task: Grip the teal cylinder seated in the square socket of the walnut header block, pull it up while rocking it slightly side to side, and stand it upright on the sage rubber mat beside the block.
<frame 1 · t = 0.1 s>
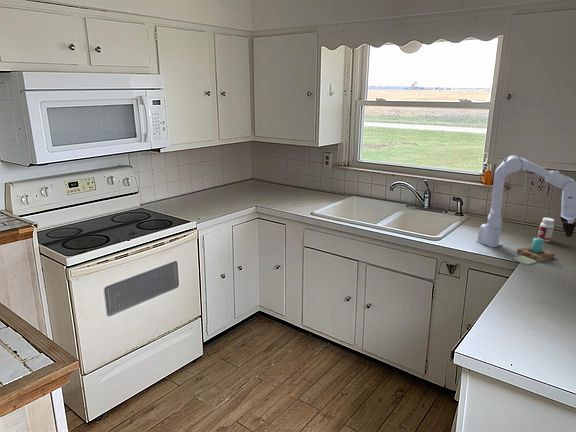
hand: (567, 233, 203), 11 cm above the worktop, tool pointing down, fingers open, 7 cm apart
rubber mat: (524, 260, 198), on the worktop
header block: (535, 255, 205), on the worktop
pill bottle: (543, 240, 224), on the worktop
teal cylinder: (536, 247, 203), in the header block
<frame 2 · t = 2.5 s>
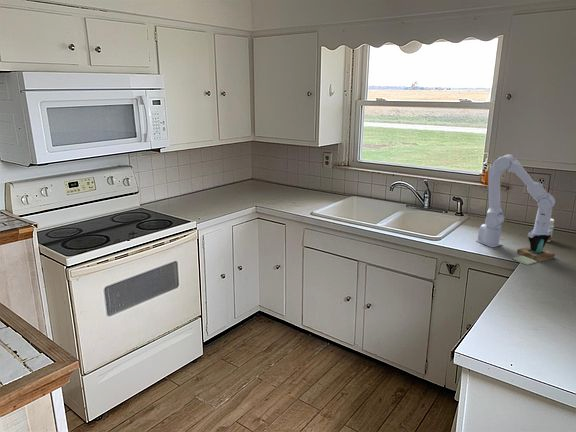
hand: (536, 249, 204), 3 cm above the worktop, tool pointing down, fingers closed on teal cylinder, 4 cm apart
teal cylinder: (536, 247, 203), in the header block, touching gripper
everything else where it was.
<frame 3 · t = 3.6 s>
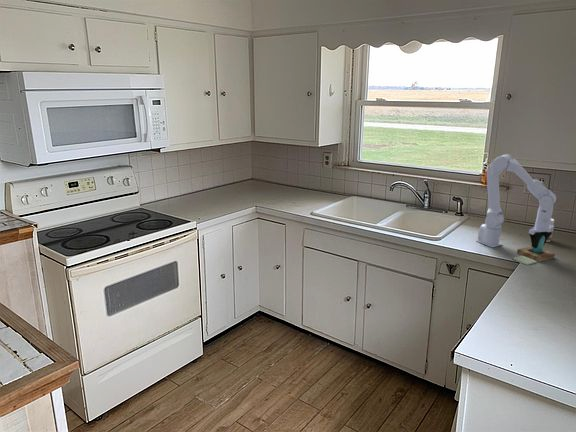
hand: (537, 246, 203), 4 cm above the worktop, tool pointing down, fingers closed on teal cylinder, 4 cm apart
teal cylinder: (538, 244, 203), point 5 cm above the worktop, touching gripper
everything else where it was.
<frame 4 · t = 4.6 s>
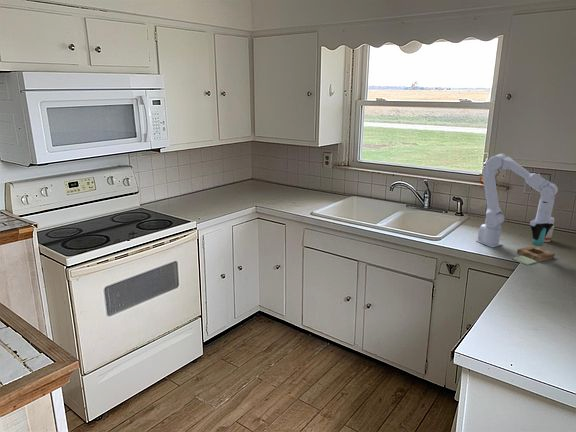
hand: (538, 238, 202), 8 cm above the worktop, tool pointing down, fingers closed on teal cylinder, 4 cm apart
teal cylinder: (539, 236, 202), point 10 cm above the worktop, touching gripper
everything else where it was.
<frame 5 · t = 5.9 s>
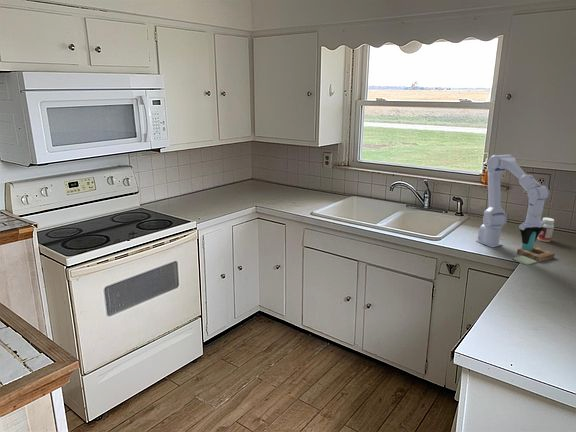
hand: (528, 242, 195), 9 cm above the worktop, tool pointing down, fingers closed on teal cylinder, 4 cm apart
teal cylinder: (528, 240, 195), point 10 cm above the worktop, touching gripper
everything else where it was.
when the fingers open (5 cm above the worktop, at t = 7.0 s): teal cylinder drops 1 cm, resting on rubber mat.
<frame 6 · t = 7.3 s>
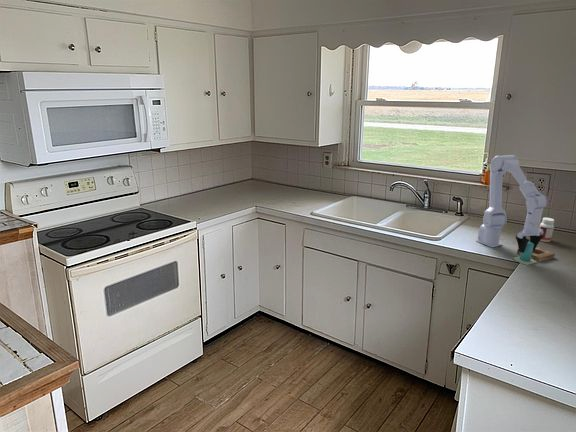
hand: (526, 250, 197), 5 cm above the worktop, tool pointing down, fingers open, 7 cm apart
teal cylinder: (526, 251, 197), on the rubber mat, point 5 cm above the worktop
everything else where it was.
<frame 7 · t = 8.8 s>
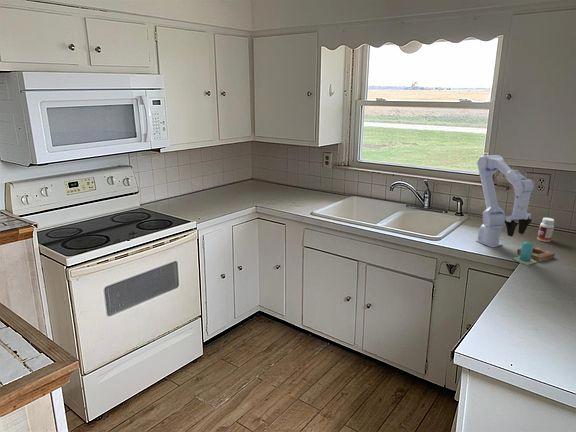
hand: (515, 234, 200), 10 cm above the worktop, tool pointing down, fingers open, 7 cm apart
nothing on the worktop moved.
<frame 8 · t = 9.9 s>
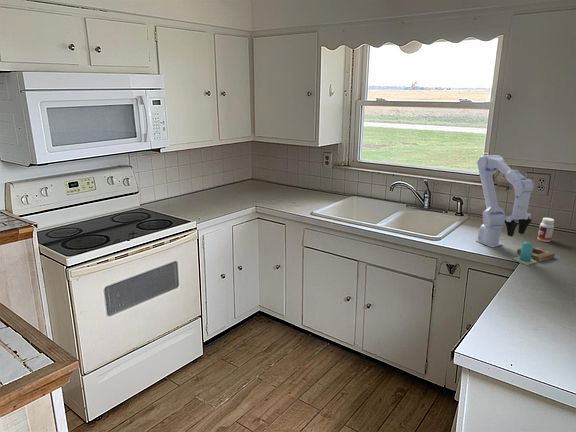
hand: (515, 234, 200), 10 cm above the worktop, tool pointing down, fingers open, 7 cm apart
nothing on the worktop moved.
at the end: teal cylinder 0.0 cm off-centre on the rubber mat, point 4.6 cm above the rubber mat's base; teal cylinder tilted 0°; the gripper is holding nothing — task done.
